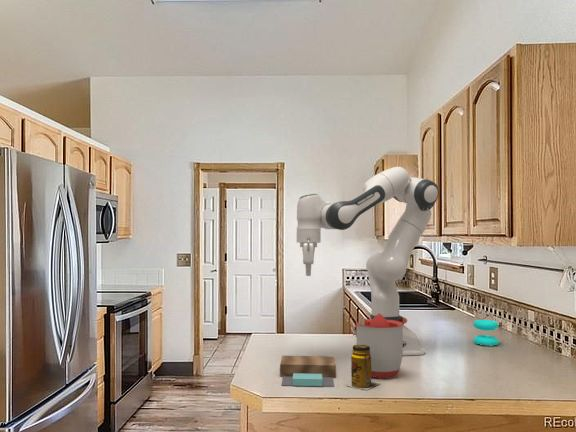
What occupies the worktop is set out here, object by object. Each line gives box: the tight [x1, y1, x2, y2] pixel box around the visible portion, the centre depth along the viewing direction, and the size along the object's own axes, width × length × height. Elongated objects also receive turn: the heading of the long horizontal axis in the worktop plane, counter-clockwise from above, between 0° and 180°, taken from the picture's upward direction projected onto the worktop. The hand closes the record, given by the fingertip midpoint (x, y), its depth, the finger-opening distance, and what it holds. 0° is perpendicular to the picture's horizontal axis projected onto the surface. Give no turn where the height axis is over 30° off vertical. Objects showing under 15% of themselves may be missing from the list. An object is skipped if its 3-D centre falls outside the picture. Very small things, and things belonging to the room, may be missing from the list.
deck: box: [279, 355, 337, 379], centre depth 164 cm, size 18×12×4 cm, turn 88°
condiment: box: [345, 344, 381, 391], centre depth 150 cm, size 7×8×12 cm
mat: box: [281, 377, 335, 388], centre depth 153 cm, size 16×9×1 cm, turn 88°
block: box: [293, 373, 322, 387], centre depth 151 cm, size 9×6×2 cm, turn 87°
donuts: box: [472, 319, 499, 346], centre depth 210 cm, size 10×10×10 cm
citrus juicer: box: [352, 313, 403, 380], centre depth 163 cm, size 16×17×20 cm
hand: (308, 275), depth 179 cm, fingers closed
